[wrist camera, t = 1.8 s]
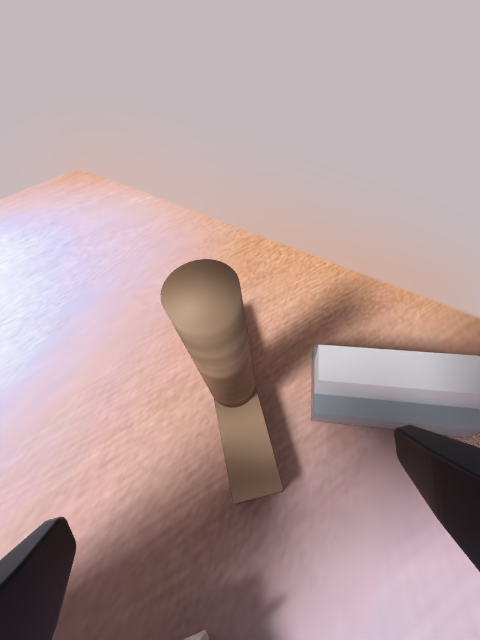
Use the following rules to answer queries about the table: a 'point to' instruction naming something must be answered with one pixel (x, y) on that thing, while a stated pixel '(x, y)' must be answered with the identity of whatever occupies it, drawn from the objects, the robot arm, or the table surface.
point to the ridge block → (396, 389)
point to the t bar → (224, 369)
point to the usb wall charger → (200, 636)
